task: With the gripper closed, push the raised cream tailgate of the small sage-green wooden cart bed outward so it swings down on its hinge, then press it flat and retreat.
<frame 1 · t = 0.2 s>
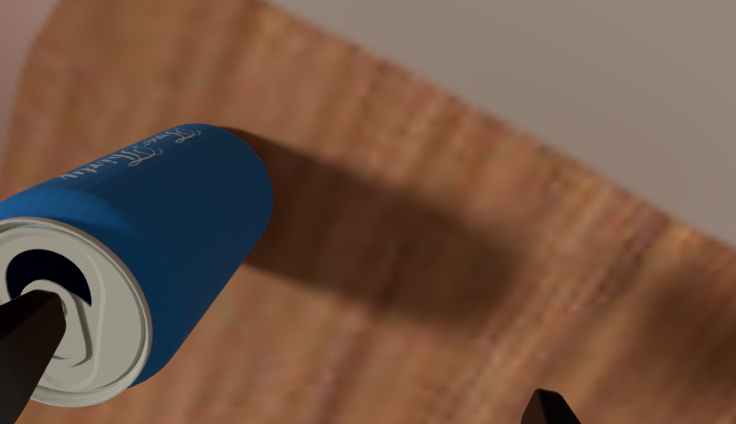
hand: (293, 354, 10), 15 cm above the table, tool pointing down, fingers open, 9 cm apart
beverage can: (211, 187, 26), on the table
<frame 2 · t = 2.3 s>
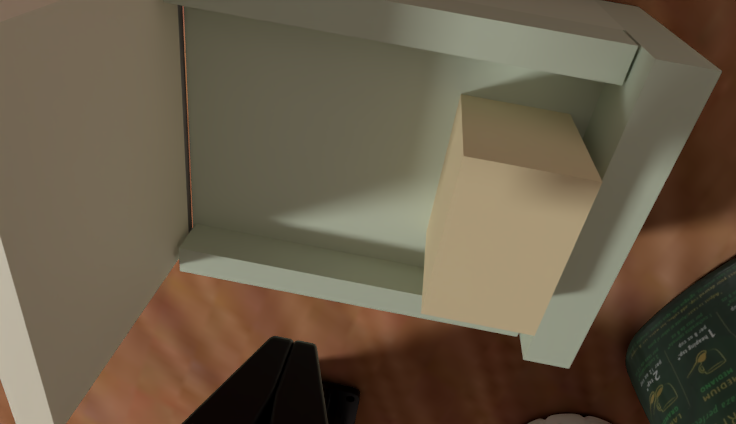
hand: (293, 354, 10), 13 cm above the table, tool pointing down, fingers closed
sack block: (492, 178, 17), point 4 cm above the table, touching cart bed
tailgate: (107, 175, 14), point 8 cm above the table, hinge at 90.0°
cart bed: (385, 108, 21), on the table
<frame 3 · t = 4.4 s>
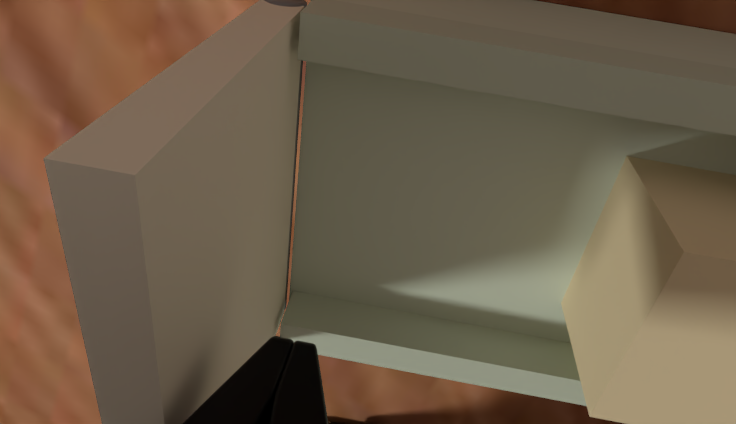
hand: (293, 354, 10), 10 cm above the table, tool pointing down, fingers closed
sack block: (649, 246, 15), point 4 cm above the table, touching cart bed
tailgate: (230, 264, 12), point 8 cm above the table, hinge at 90.0°, touching gripper
cart bed: (500, 156, 18), on the table
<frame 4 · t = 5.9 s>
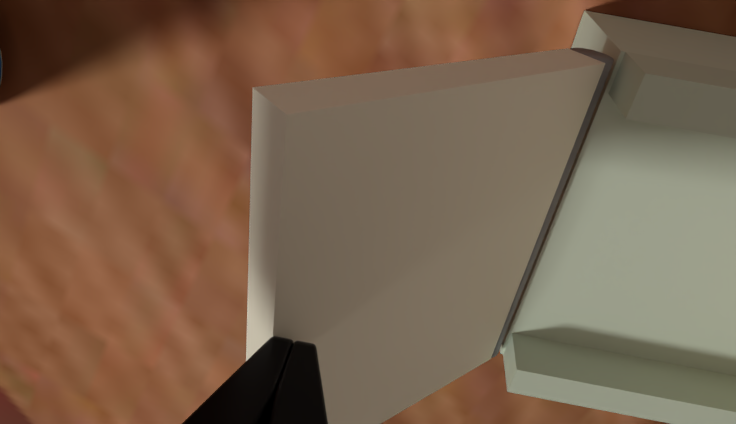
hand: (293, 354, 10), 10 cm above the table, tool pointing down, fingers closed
tailgate: (425, 267, 13), point 7 cm above the table, hinge at 44.1°, touching gripper
cart bed: (709, 195, 18), on the table
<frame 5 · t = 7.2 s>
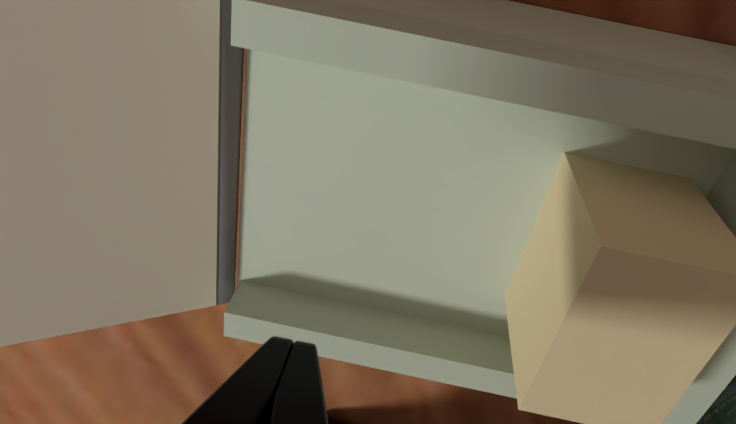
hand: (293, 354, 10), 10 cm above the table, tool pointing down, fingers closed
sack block: (588, 243, 15), point 4 cm above the table, touching cart bed
tailgate: (63, 179, 14), point 6 cm above the table, hinge at 32.8°
cart bed: (453, 151, 18), on the table
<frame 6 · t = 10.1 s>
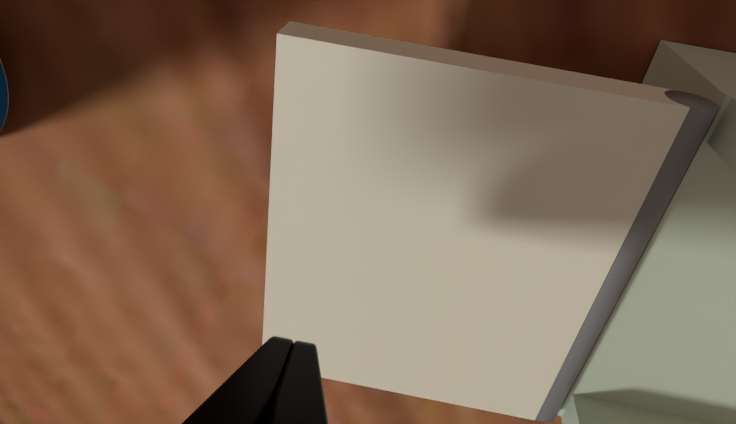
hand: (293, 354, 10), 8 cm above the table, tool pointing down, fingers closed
tailgate: (445, 254, 13), point 4 cm above the table, hinge at -0.2°
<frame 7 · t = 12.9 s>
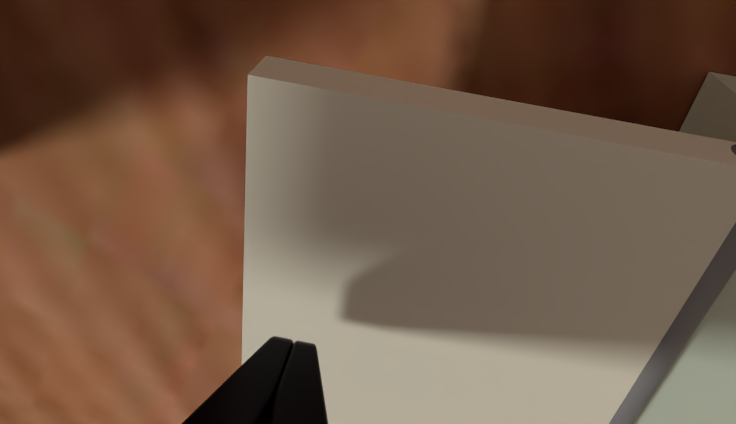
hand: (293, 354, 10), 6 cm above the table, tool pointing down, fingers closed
tailgate: (454, 326, 11), point 4 cm above the table, hinge at -0.2°
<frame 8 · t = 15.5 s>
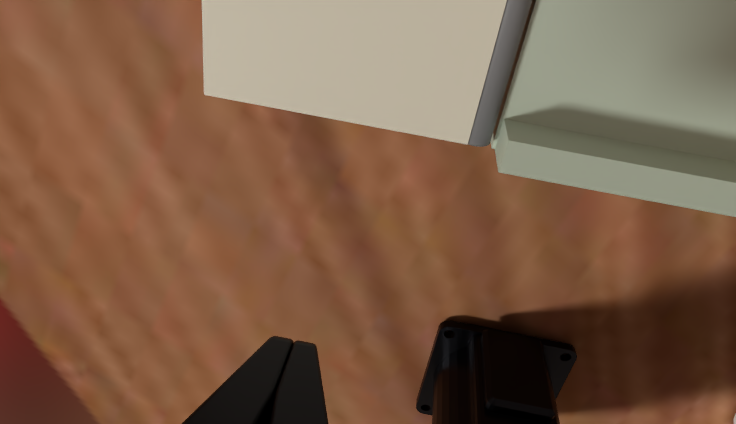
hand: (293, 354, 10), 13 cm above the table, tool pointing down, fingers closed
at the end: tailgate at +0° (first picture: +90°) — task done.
